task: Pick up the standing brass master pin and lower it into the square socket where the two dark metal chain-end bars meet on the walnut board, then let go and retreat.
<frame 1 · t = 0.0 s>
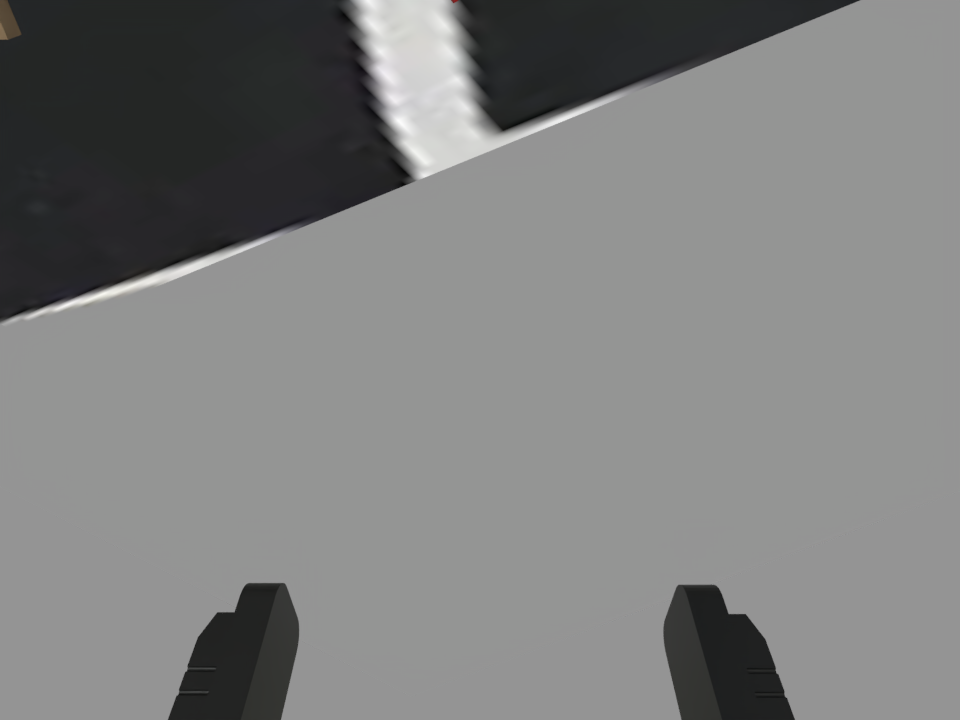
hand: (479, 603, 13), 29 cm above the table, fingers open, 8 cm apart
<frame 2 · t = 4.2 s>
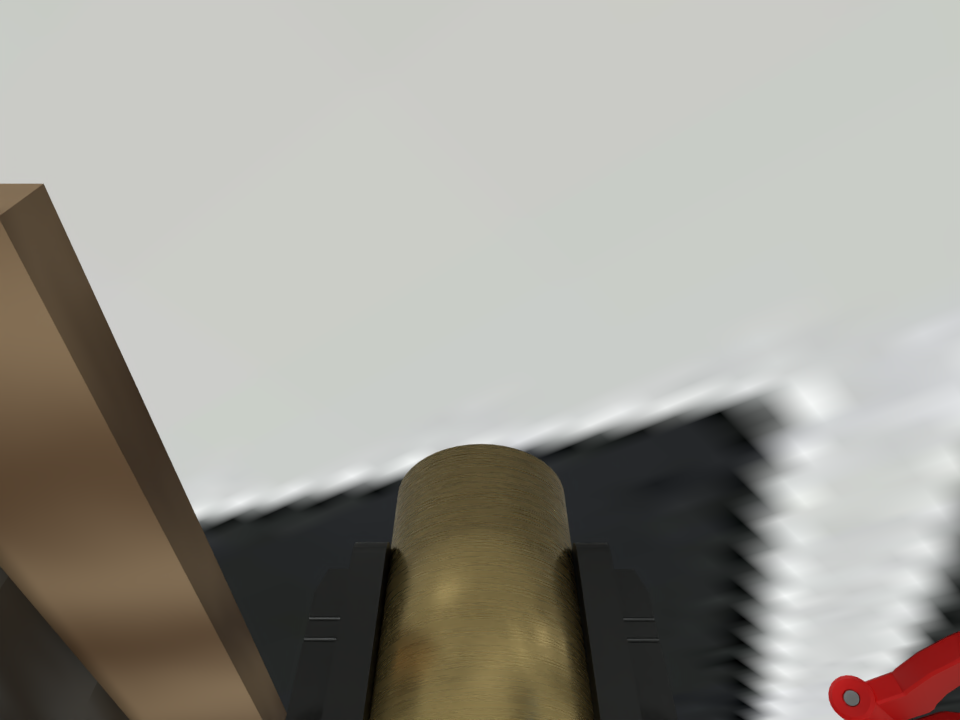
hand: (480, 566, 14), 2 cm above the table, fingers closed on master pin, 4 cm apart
master pin: (481, 501, 15), on the table, touching gripper
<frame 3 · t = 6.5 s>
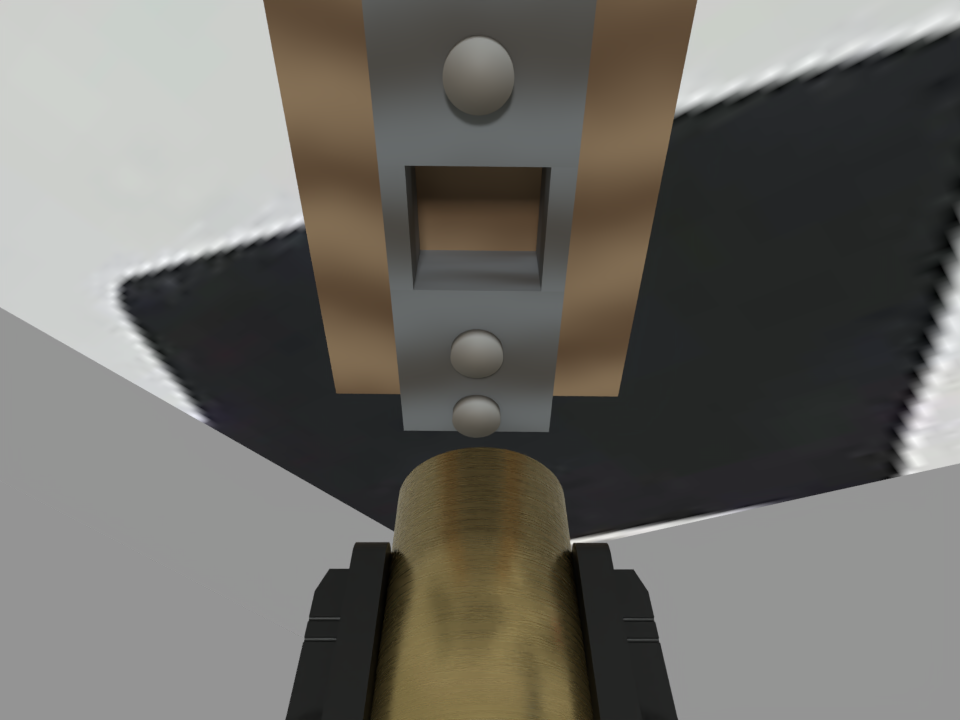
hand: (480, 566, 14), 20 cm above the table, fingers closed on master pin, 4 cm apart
master pin: (481, 504, 15), point 18 cm above the table, touching gripper
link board: (478, 184, 29), on the table
when the fingers open (5 cm above the table, at t = 9.1 s): master pin drops 2 cm, resting on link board.
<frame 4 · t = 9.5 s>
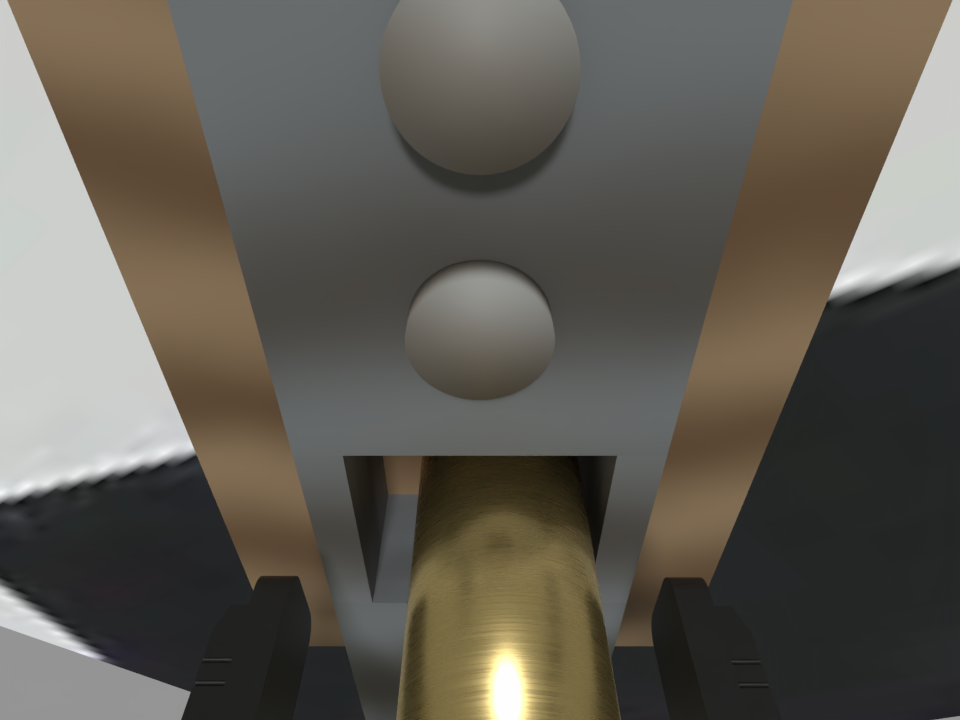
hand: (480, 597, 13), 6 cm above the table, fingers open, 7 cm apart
master pin: (498, 430, 17), point 1 cm above the table, touching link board
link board: (479, 399, 18), on the table
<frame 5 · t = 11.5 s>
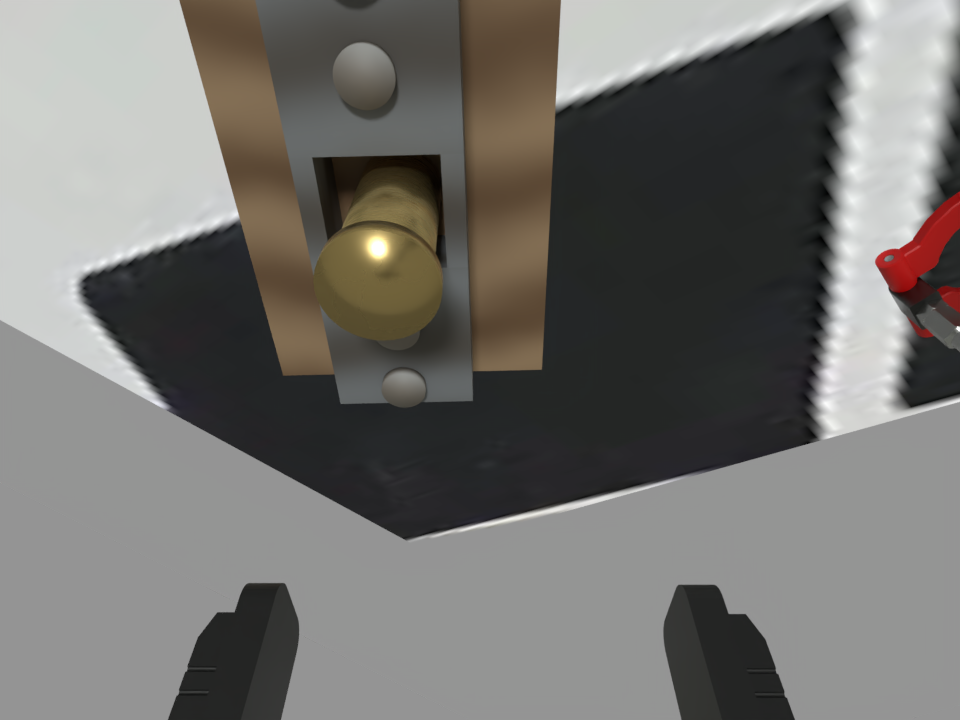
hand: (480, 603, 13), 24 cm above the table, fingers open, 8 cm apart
master pin: (401, 186, 31), point 1 cm above the table, touching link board
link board: (393, 176, 32), on the table
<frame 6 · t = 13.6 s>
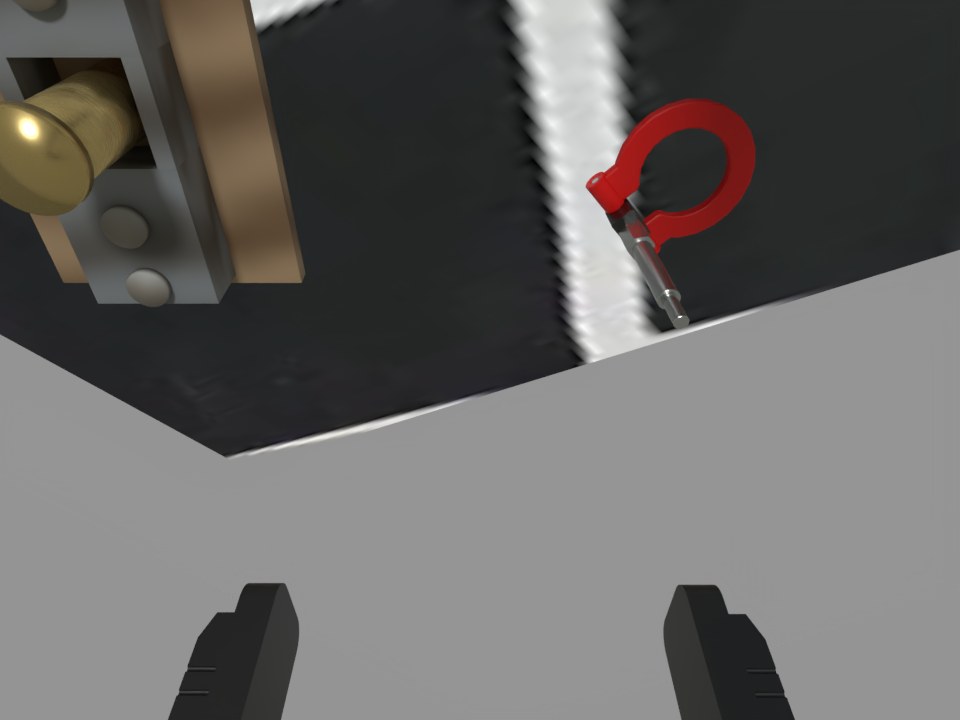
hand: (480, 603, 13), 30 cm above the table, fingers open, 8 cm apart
master pin: (126, 97, 34), point 1 cm above the table, touching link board
tow hook: (673, 171, 38), on the table
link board: (127, 89, 35), on the table
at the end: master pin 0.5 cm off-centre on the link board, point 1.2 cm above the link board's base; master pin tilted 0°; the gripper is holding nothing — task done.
